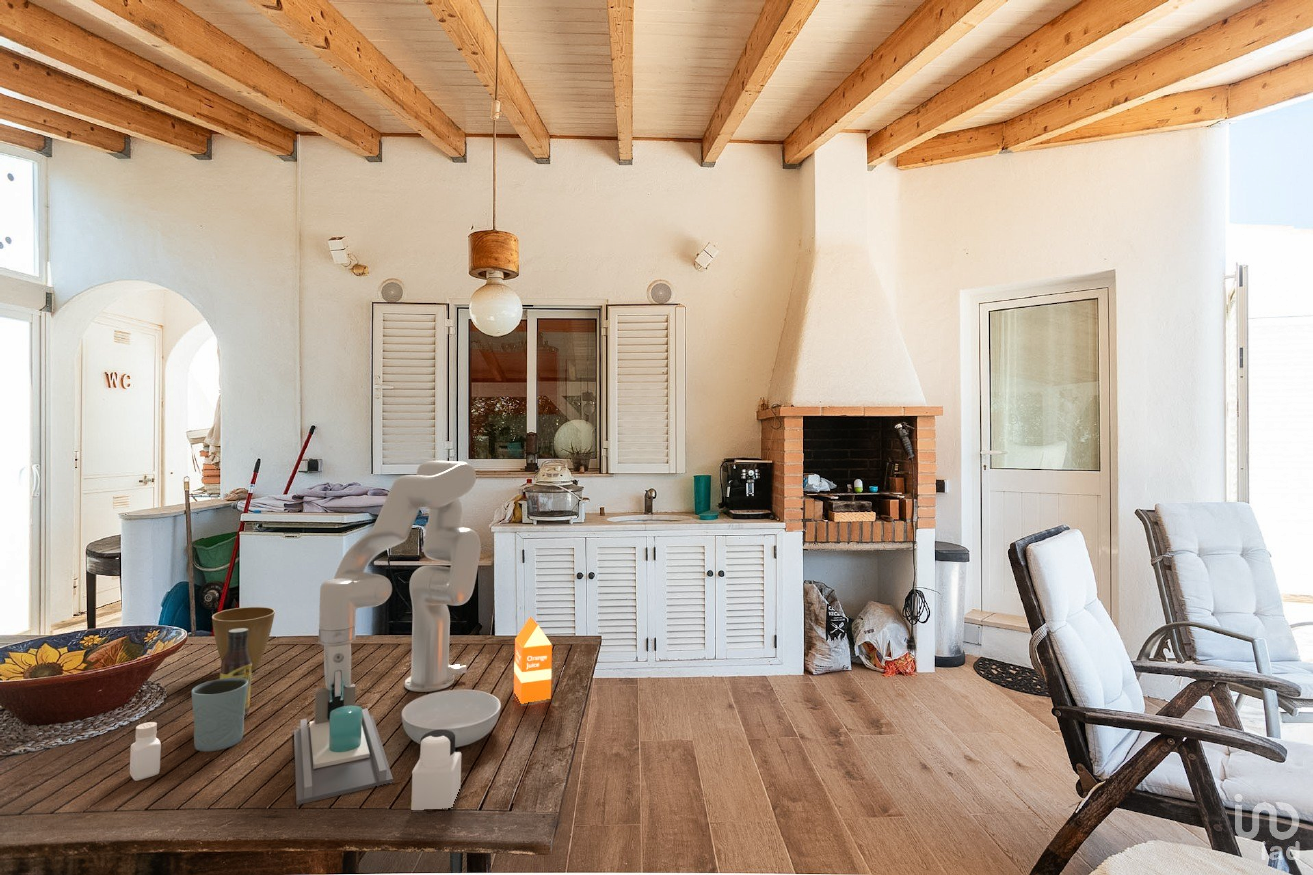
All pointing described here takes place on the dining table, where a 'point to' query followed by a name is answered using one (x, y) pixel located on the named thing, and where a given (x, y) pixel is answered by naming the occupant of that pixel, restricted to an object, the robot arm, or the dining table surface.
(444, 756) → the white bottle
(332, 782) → the rail base
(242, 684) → the grey-blue cup
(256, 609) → the plant pot
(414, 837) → the dining table surface
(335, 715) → the canister
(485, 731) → the serving bowl
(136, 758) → the pepper shaker
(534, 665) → the orange juice
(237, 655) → the sauce bottle
